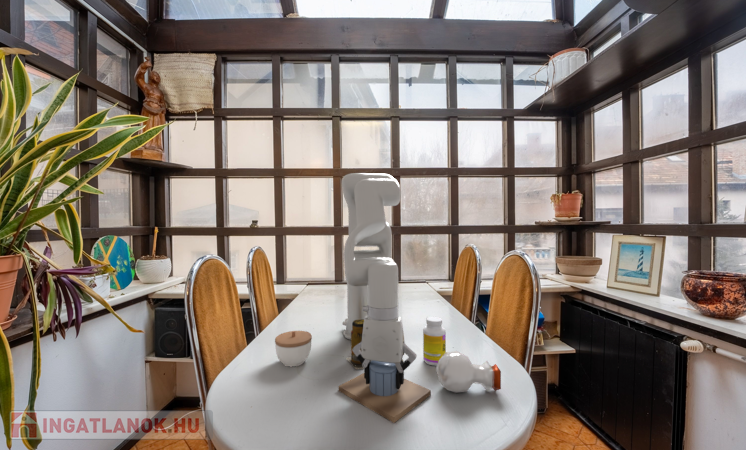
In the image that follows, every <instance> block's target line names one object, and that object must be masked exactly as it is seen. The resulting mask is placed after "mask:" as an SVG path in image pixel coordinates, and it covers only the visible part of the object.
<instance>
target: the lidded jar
mask: <svg viewBox="0 0 746 450" xmlns="http://www.w3.org/2000/svg"><path fill="white" fill-rule="evenodd" d="M274 345H275V353H276V355H277V356H276V357H277V358H278V360H279V361H280V362H281V363H282V364H283V366H285V365H286V366H285V367H287V366H290V367H289V368H293V367H292V366H296V367H300V366H301V365H303V364H304V363H305V361H306V360H307V359H308V357H309V356H310V352H311V349H312V334H311V333H310V332H309V331H306V330H290V331H286V332H283V333H280V334H278V335H277V336H276V337H275V339H274Z"/></svg>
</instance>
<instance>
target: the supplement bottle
mask: <svg viewBox="0 0 746 450" xmlns="http://www.w3.org/2000/svg"><path fill="white" fill-rule="evenodd" d="M425 321H426V322H425V323H426V325H425V326H424V327H423V329H422V333H423V334H422V336H423V337H422V340H423V341H422V342H423V343H422V345H423V346H422V347H423V348H422V349H423V350H422V351H423V352H422V353H423V355H422V356H423V357H422V360H423V361H424V363H426V365H430V366H433V367H434V366H436V367H437V363H438V361H439V360H440V359H441V357H442V356H443V355H444V354H445V353H446V350H447V349H446V348H447V347H446V345H447V344H446V328H445V327H443V326H442V325H443V319H442V318H441V317H438V316H427V317H426V320H425Z"/></svg>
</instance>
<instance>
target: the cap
mask: <svg viewBox="0 0 746 450" xmlns="http://www.w3.org/2000/svg"><path fill="white" fill-rule="evenodd" d="M397 371H398V369H397V367H396V365H395V363H386V362H379V361H371V362H370V366H369V388H370V391H371V392H372V393H374V394H375V395H378V396H391V395H393V394H395V393H397V391H398V389H397V388H396V372H397Z"/></svg>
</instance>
